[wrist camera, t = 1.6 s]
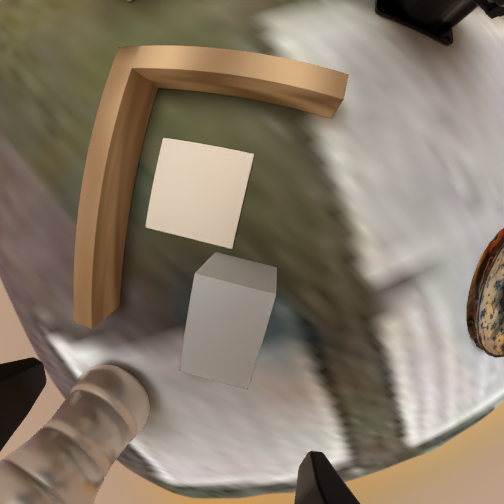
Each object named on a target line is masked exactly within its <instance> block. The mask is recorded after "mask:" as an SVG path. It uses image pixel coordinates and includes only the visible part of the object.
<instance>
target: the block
mask: <svg viewBox="0 0 504 504" xmlns="http://www.w3.org/2000/svg"><path fill="white" fill-rule="evenodd" d="M276 285H277V267H274V266H270V265H266V264H262V263H258V262H254V261H250V260H246V259H242V258H238V257H234V256H230V255H226V254H222V253H218V252H215V253H214V254H213V255H212V256H211V257H210V258H209V259H208V260H207V261H206V262H205V263H204V264H203V265H202V266H201V268H200V269H199V270H198V271H197V272H196V273H195V275H194V281H193V286H192V292H191V298H190V303H189V309H188V315H187V322H186V328H185V334H184V341H183V348H182V354H181V361H180V369H179V371H181V372H185V373H188V374H191V375H195V376H198V377H201V378H205V379H208V380H212V381H216V382H220V383H223V384H227V385H231V386H235V387H239V388H243V389H248V387H249V384H250V381H251V378H252V375H253V371H254V368H255V365H256V362H257V358H258V355H259V352H260V348H261V345H262V342H263V338H264V335H265V332H266V328H267V325H268V321H269V318H270V315H271V311H272V308H273V304H274V301H275V297H276Z"/></svg>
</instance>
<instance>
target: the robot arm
mask: <svg viewBox="0 0 504 504" xmlns="http://www.w3.org/2000/svg"><path fill="white" fill-rule="evenodd" d="M478 6H479V7H481V8H482V9H483V10H484V11H485V13H486V14H487V15H488V16H489V17H490V18H491V19H493V18H495V17H497V16H499V17H501V16H503V15H504V0H376V2H375V11H376V12H377V13H378V14H379V15H382V16H384V17H387V18H389V19H392V20H394V21H397V22H399V23H402V24H404V25H406V26H409V27H411V28H413V29H415V30H417V31H420V32H422V33H424V34H426V35H428V36H430V37H432V38H434V39H436V40H438V41H440V42H441V43H443V44H445V45H450V44H452V43H453V34H452V28H453V27H454V26H456V25H457V24H458V23H459V22H460V21H461V20H463V19H464V18H465V17H466V16H467V15H469V14H470V13H471V12H472V11H473V10H474V9H476V8H477V7H478ZM381 9H383V10H384V11H382V10H381ZM446 39H447V40H446ZM45 385H46V375H45V370H44V365H43V363H42V362H41V361H39V360H38V359H36V358H27V359H22V360H18V361H13V362H8V363H3V364H0V451H1V450H2V448H3V447H4V446H5V444H6V443H7V441H8V440H9V438H10V437H11V436H12V435H13V433H14V432H15V430H16V429H17V428H18V426H19V425H20V424H21V422H22V421H23V420H24V419H25V417H26V416H27V414H28V413H29V411H30V410H31V408H32V406H33V405H34V403H35V401H36V400H37V398H38V396H39V395H40V393H41V392H42V390H43V388H44V387H45ZM295 504H360V503H359V501H358V500H357V499H356V497H355V496H354V495H353V493H352V492H351V491H350V489H349V488H348V487H347V486H346V484H345V483H344V481H343V480H342V479H341V477H340V476H339V474H338V473H337V472H336V470H335V469H334V467H333V466H332V465H331V463H330V462H329V460H328V459H327V458H326V456H325V455H324V454H323V453H322V452H316V451H310V452H308V454H307V455H306V457H305V458H304V460H303V461H302V463H301V465H300V467H299V470H298V479H297V487H296V496H295Z"/></svg>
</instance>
